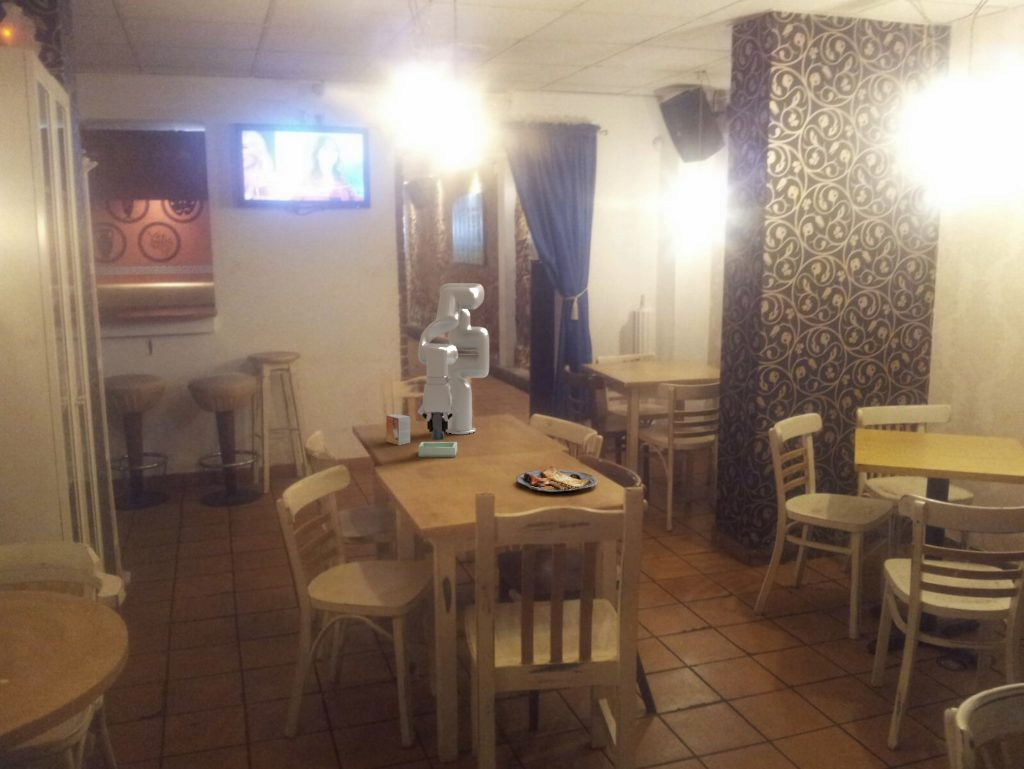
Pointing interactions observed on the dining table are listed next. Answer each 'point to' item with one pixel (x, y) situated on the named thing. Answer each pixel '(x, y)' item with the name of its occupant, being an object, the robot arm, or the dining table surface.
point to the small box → (398, 429)
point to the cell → (437, 426)
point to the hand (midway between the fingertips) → (437, 431)
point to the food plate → (556, 479)
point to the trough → (437, 449)
